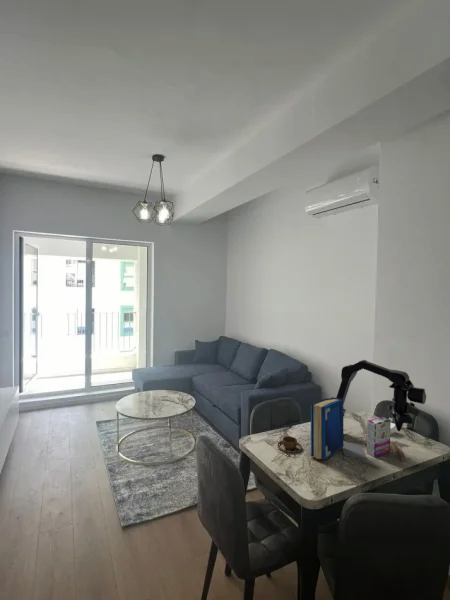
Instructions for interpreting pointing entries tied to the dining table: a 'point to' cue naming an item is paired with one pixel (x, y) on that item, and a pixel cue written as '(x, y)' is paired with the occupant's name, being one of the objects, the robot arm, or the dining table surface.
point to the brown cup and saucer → (290, 444)
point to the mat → (353, 450)
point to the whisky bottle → (394, 424)
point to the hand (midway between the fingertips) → (398, 430)
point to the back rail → (398, 452)
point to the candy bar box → (378, 436)
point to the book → (326, 427)
